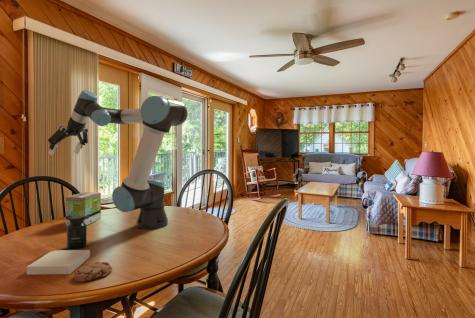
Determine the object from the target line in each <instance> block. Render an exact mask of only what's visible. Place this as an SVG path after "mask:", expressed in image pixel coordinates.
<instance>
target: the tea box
mask: <svg viewBox="0 0 475 318" xmlns="http://www.w3.org/2000/svg"><path fill="white" fill-rule="evenodd" d="M101 205H102V194H101V192H96V191H95V192H92V191H89V192H88V191H87V192H85V191H84V192H79V193H76V194H72V195H68V196H66V198H65V226H66V227H67V226H68V225H69V224H70V217H73V216H84V223H85V224H86V225H87V226H88V225H90V224H92V223H94V222H97V221H99V220H100V219H101V218H102V215H101V213H102V211H101V210H102V206H101Z"/></svg>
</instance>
